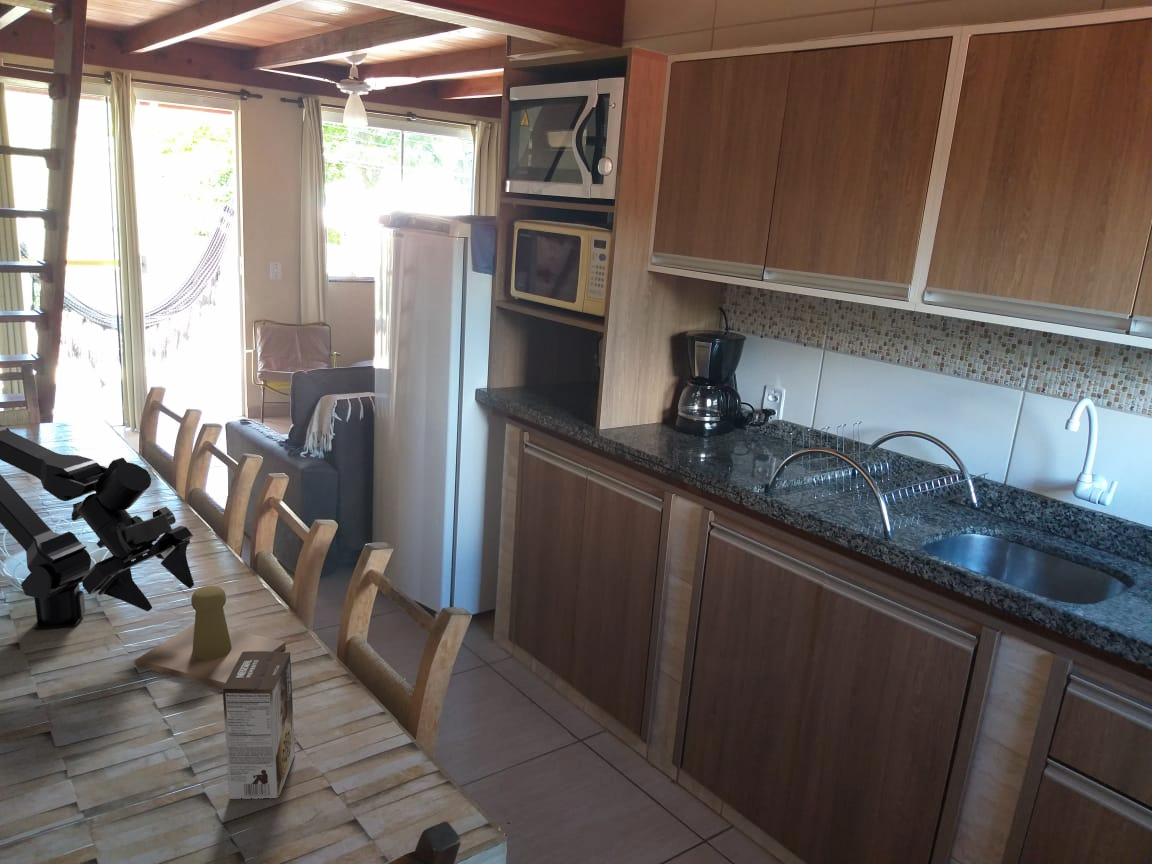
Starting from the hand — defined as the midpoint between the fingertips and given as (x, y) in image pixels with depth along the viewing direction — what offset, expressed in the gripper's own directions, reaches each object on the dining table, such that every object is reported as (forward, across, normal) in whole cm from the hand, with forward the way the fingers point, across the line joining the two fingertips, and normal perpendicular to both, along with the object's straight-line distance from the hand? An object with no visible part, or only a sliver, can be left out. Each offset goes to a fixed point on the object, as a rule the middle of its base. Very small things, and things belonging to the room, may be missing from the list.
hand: (171, 597), depth 138 cm
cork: (+11, 0, 0) cm, 11 cm away
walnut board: (+12, 0, +1) cm, 12 cm away
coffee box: (+31, -22, -18) cm, 42 cm away
